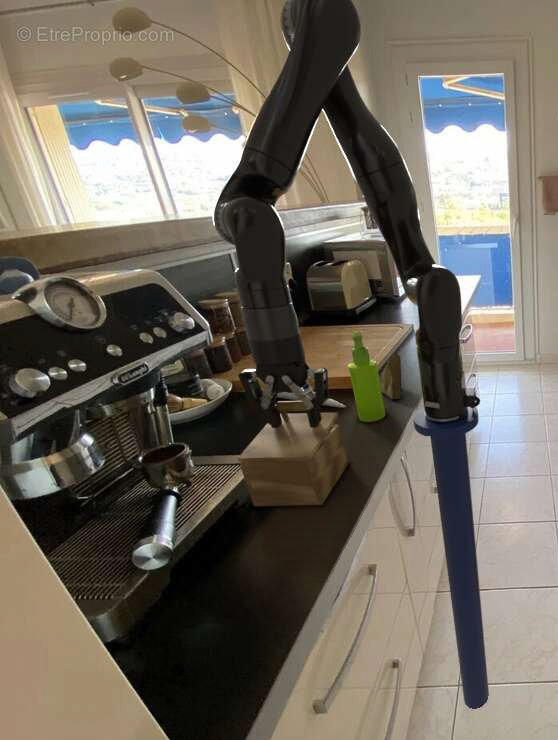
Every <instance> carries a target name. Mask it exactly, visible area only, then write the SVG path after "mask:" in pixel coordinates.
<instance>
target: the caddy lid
mask: <svg viewBox="0 0 558 740" xmlns="http://www.w3.org/2000/svg"><path fill="white" fill-rule="evenodd" d="M275 404H276V409H277V411H279V412H280V416H281V420H282V424H281V425H280V426H279V427H278V428H272V427H271V425H269V423H268V422H267V423H265V425H264V427H263V428H262V429H261V430H260V431H259V433H258V434H257V435H256V436H255V437H254V438H253V439H252V441H250V443H249V444H248V445H247V446H246V448H245V449H244V450H243V451H242V452H241V453H240V454H239V456H238V457H237V461H238V463H239V462H267V461H310V460H311V459H312V457H313V456H314V454H315V452H316V451H317V449H318V448H319V446H320V444H321V443H322V441H323V440H324V438H325V437H326V435H327V433H328V432H329V430H330V429H331V427H332V425H335V422H336V421H337V419H338V417H339V412H320V413H321V417H322V419H321V422H320V423H319V424H318V425H317V426H316V427H315V428H311V427H310V424H309V420H308V415H307V411H306V409H307V407H306V405H305V404H304V403H303V402H302V401H295V400H278V401H276V402H275ZM288 412H293V413H288ZM295 412H296V413H295ZM297 412H298V413H297ZM299 412H300V413H299Z"/></svg>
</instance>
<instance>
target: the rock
mask: <svg viewBox="0 0 558 740" xmlns="http://www.w3.org/2000/svg"><path fill="white" fill-rule="evenodd" d="M380 387H381V392H382V393H383V394H384V395H386V396H387V397H389V398H390V399H391V400H400V399H401V398H402V362H401V355H399V354H398V353H396V352H392V354H390V356H389V359H388V361H387V363H386V365H385V366H384V369H383V370H382V372H381V375H380Z"/></svg>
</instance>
